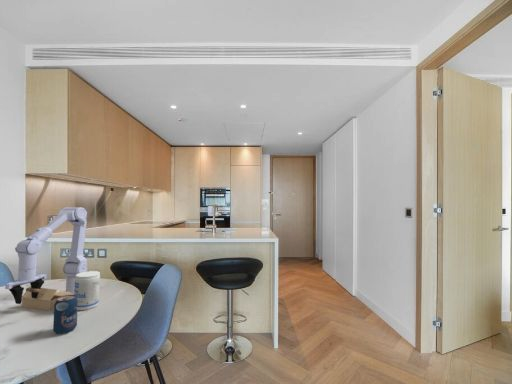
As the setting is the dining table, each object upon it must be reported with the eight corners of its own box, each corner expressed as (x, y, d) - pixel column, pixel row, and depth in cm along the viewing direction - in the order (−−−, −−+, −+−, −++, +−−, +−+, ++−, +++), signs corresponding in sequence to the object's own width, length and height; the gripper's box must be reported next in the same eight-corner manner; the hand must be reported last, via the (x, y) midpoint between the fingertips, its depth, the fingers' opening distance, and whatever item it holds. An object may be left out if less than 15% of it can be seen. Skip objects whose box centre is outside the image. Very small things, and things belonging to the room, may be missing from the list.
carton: (45, 298, 123) (45, 288, 123) (71, 301, 119) (72, 292, 120) (21, 306, 114) (22, 296, 114) (49, 310, 110) (50, 300, 110)
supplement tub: (68, 311, 109) (69, 276, 110) (82, 302, 119) (83, 270, 119) (91, 311, 110) (92, 276, 110) (103, 302, 119) (104, 270, 120)
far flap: (50, 301, 110) (41, 297, 107) (22, 297, 114) (13, 293, 110) (57, 290, 113) (49, 285, 110) (30, 286, 117) (21, 282, 113)
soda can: (64, 336, 89) (65, 301, 90) (47, 334, 90) (49, 300, 91) (81, 327, 96) (82, 294, 96) (65, 325, 97) (66, 293, 98)
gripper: (38, 263, 117) (37, 293, 116) (0, 272, 102) (-2, 306, 102) (50, 264, 115) (49, 295, 115) (13, 273, 101) (12, 308, 100)
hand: (26, 300), depth 108 cm, fingers open, 5 cm apart
